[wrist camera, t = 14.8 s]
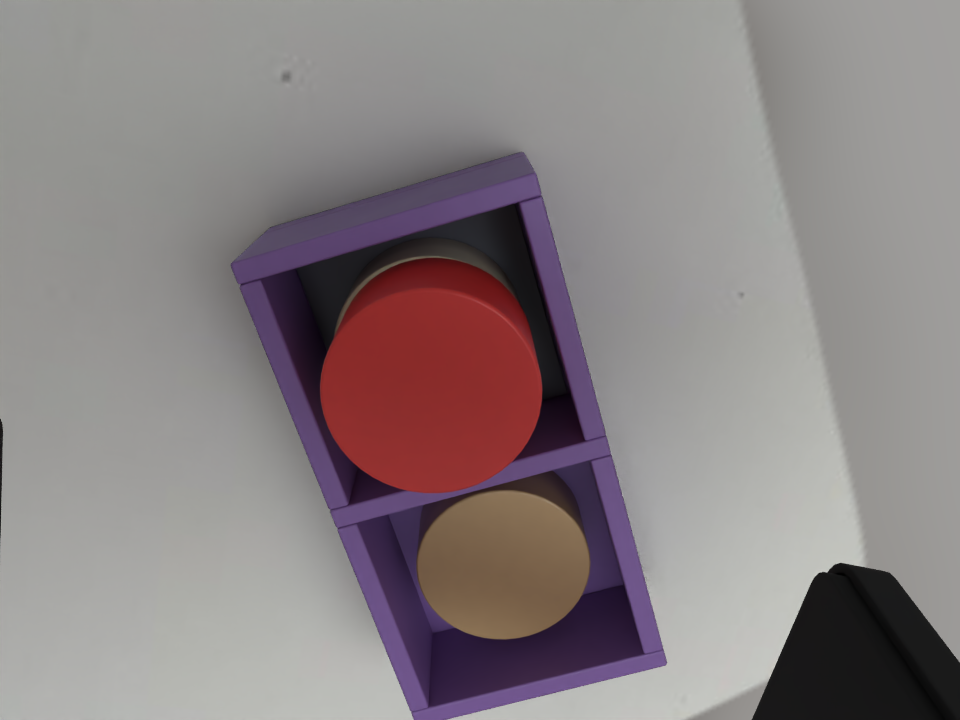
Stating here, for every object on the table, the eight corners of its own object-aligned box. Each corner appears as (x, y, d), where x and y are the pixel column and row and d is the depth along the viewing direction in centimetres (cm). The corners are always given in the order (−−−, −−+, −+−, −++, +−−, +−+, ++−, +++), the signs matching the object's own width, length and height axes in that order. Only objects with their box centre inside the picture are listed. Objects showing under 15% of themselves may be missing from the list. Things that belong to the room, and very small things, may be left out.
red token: (355, 238, 18) (338, 266, 16) (553, 279, 19) (566, 313, 16) (323, 421, 20) (304, 473, 17) (508, 456, 20) (514, 511, 18)
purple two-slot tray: (268, 227, 21) (228, 263, 18) (523, 151, 21) (535, 171, 17) (423, 633, 26) (416, 727, 22) (639, 577, 25) (668, 666, 21)
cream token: (361, 219, 20) (350, 237, 18) (541, 258, 21) (548, 279, 19) (331, 387, 22) (319, 420, 20) (500, 421, 22) (503, 455, 20)
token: (437, 439, 23) (435, 475, 21) (599, 471, 23) (611, 508, 21) (405, 579, 24) (401, 624, 22) (558, 606, 24) (565, 653, 22)
